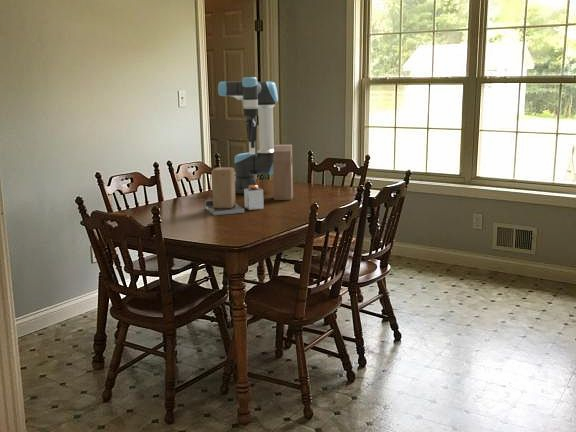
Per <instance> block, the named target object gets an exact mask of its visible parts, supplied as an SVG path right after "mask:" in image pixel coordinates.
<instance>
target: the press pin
mask: <svg viewBox="0 0 576 432" xmlns="http://www.w3.org/2000/svg"><path fill="white" fill-rule="evenodd" d="M258 187H259V185H258V184H257V185H249V188H251V190H256V188H258Z"/></svg>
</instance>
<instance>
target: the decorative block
mask: <svg viewBox="0 0 576 432" xmlns="http://www.w3.org/2000/svg"><path fill="white" fill-rule="evenodd" d="M293 173H294V172H293V144H274V150H273V174H272V175H273V177H272V178H273V200H274V201H292V200H293V197H294V183H293V182H294V181H293V179H294V178H293Z"/></svg>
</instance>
